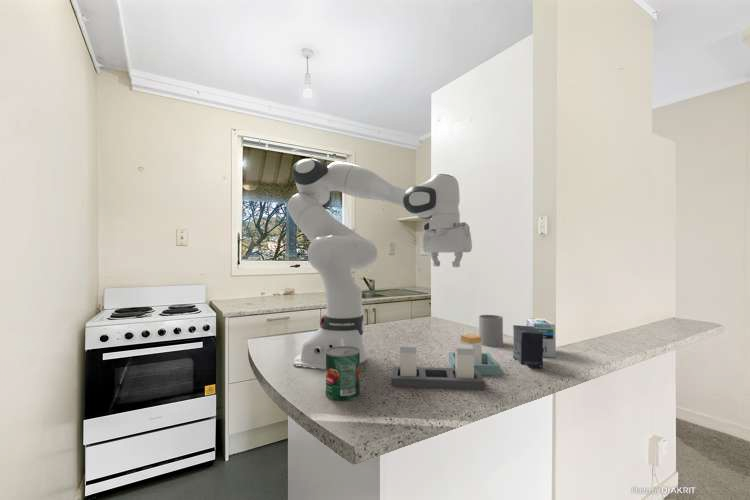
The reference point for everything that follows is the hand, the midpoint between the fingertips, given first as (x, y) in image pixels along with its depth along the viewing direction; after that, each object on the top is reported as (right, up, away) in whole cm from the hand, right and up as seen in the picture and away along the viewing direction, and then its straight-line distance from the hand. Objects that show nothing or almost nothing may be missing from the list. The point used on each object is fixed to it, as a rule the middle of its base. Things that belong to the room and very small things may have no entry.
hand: (446, 266), depth 112 cm
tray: (+5, -29, -14) cm, 32 cm away
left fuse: (-15, -28, -24) cm, 39 cm away
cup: (+20, -30, +16) cm, 39 cm away
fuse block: (-8, -29, -25) cm, 39 cm away
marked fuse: (+4, -28, -14) cm, 32 cm away
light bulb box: (+33, -29, +4) cm, 44 cm away
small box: (+23, -29, -7) cm, 38 cm away
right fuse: (-1, -28, -25) cm, 38 cm away
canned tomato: (-31, -29, -32) cm, 53 cm away
